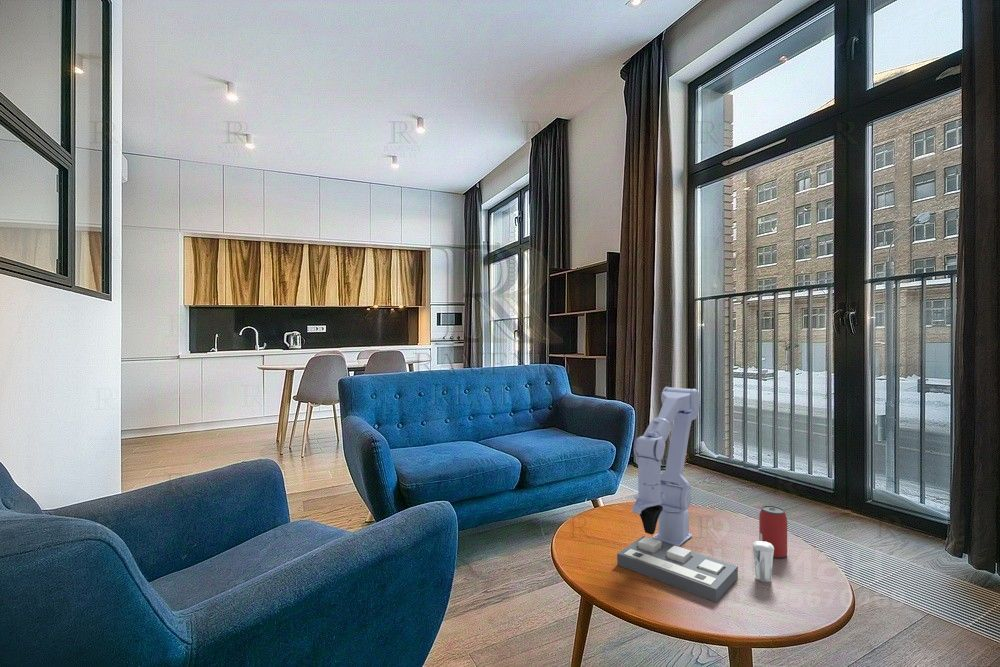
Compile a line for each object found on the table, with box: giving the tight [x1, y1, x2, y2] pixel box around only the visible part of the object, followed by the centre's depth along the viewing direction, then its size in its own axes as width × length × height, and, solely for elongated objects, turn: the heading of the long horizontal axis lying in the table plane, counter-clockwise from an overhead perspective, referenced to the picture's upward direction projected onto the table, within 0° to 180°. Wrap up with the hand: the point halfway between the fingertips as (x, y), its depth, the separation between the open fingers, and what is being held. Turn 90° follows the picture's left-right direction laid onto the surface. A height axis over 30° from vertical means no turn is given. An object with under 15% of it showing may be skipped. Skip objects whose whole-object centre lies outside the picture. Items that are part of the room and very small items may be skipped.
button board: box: [616, 535, 739, 603], centre depth 122 cm, size 14×25×3 cm, turn 46°
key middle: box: [667, 545, 692, 564], centre depth 123 cm, size 4×4×3 cm
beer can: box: [758, 504, 788, 559], centre depth 131 cm, size 7×7×12 cm
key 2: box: [698, 559, 724, 575], centre depth 118 cm, size 4×4×3 cm
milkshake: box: [752, 533, 774, 584], centre depth 118 cm, size 4×5×10 cm
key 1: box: [638, 536, 662, 554], centre depth 129 cm, size 4×4×3 cm
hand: (649, 532), depth 129 cm, fingers closed
